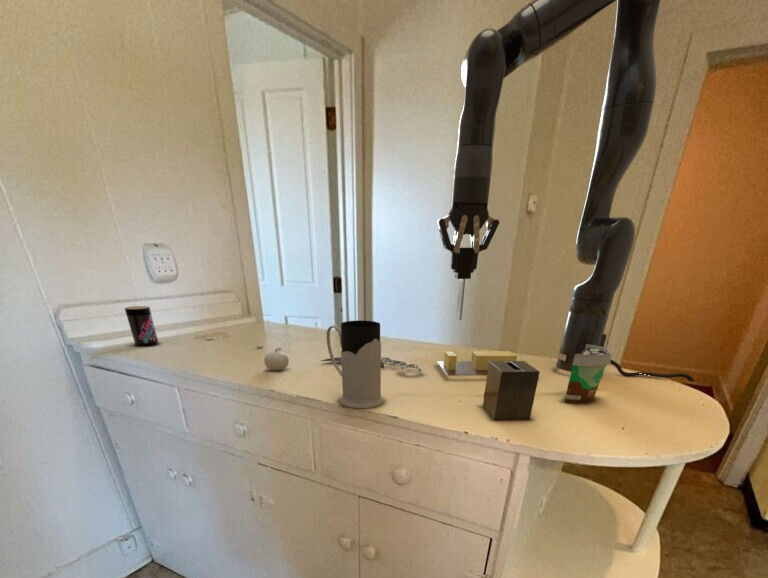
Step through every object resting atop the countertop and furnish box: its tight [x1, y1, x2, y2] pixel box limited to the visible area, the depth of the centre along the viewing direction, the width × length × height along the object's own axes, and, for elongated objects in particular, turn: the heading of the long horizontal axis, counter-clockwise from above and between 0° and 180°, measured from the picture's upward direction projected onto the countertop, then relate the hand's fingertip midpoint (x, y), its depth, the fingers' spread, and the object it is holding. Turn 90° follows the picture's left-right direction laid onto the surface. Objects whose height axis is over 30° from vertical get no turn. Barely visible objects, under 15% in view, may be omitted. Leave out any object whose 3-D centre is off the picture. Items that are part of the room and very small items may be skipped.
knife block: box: [482, 360, 541, 421], centre depth 81 cm, size 7×8×9 cm
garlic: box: [263, 347, 290, 372], centre depth 108 cm, size 6×5×5 cm
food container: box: [563, 344, 612, 404], centre depth 89 cm, size 12×6×10 cm, turn 148°
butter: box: [470, 350, 517, 370], centre depth 108 cm, size 10×5×4 cm, turn 94°
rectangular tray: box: [437, 360, 488, 377], centre depth 109 cm, size 22×14×1 cm, turn 94°
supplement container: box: [124, 305, 159, 347], centre depth 129 cm, size 7×7×10 cm
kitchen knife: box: [454, 246, 474, 321], centre depth 98 cm, size 3×4×15 cm
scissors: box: [320, 356, 423, 372], centre depth 112 cm, size 28×2×10 cm
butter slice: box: [443, 350, 458, 370], centre depth 107 cm, size 2×5×4 cm, turn 4°
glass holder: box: [326, 320, 384, 409], centre depth 86 cm, size 9×14×15 cm, turn 47°
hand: (463, 271), depth 97 cm, fingers closed on kitchen knife, 3 cm apart
